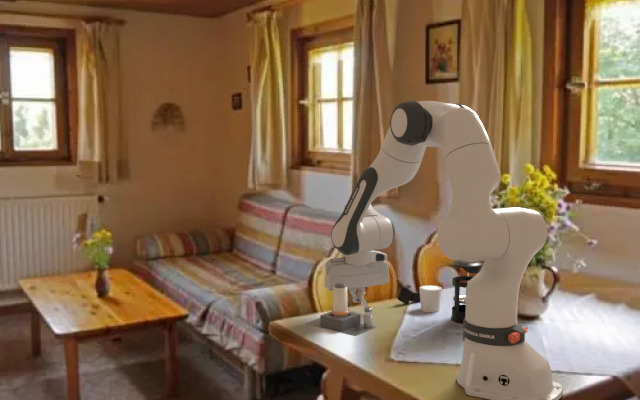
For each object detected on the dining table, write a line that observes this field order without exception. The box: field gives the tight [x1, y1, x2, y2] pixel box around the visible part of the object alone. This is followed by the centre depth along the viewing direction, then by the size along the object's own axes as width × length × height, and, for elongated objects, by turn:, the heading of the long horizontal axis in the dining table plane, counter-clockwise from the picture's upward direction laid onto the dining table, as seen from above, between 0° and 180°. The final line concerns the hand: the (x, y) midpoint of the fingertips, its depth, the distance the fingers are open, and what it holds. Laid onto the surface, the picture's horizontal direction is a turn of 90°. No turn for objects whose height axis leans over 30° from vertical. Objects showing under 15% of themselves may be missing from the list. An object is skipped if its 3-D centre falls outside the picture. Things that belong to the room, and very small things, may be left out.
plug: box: [331, 283, 350, 318], centre depth 189 cm, size 5×5×12 cm
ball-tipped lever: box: [360, 294, 373, 316], centre depth 196 cm, size 18×2×2 cm, turn 3°
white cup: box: [419, 284, 443, 313], centre depth 208 cm, size 7×7×7 cm
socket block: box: [304, 310, 377, 337], centre depth 190 cm, size 18×10×4 cm, turn 50°
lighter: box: [396, 284, 421, 305], centre depth 215 cm, size 9×2×6 cm
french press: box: [450, 260, 484, 325], centre depth 196 cm, size 12×9×23 cm
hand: (356, 301), depth 199 cm, fingers closed
